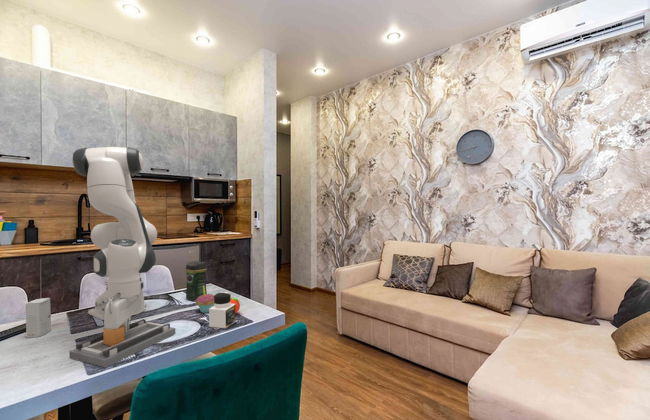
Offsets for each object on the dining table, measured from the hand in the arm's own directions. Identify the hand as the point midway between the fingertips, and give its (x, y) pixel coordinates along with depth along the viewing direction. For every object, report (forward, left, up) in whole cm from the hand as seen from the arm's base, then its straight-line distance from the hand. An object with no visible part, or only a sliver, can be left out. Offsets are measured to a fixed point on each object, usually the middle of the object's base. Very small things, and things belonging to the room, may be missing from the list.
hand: (124, 332), depth 97 cm
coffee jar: (-16, +48, -5) cm, 51 cm away
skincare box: (-38, -4, -5) cm, 39 cm away
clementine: (+15, +36, -5) cm, 39 cm away
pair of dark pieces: (0, +1, -2) cm, 2 cm away
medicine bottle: (+18, +26, -5) cm, 32 cm away
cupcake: (+1, +36, -5) cm, 36 cm away
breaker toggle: (0, -3, -2) cm, 4 cm away
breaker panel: (0, +1, -5) cm, 5 cm away
